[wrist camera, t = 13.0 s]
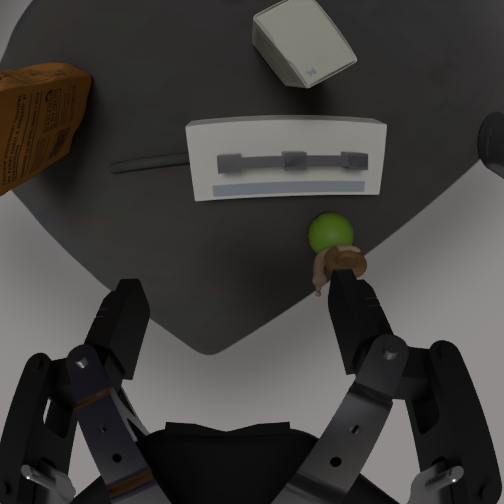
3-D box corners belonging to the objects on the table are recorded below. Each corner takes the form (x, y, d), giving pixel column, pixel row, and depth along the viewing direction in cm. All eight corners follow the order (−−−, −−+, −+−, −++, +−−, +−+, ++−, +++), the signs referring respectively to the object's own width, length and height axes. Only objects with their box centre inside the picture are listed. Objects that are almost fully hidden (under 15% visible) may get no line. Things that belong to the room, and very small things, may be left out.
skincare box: (318, 67, 25) (363, 65, 15) (284, 87, 26) (309, 94, 16) (283, 19, 22) (308, -13, 12) (248, 39, 23) (251, 16, 13)
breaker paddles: (359, 152, 27) (368, 153, 25) (359, 167, 27) (368, 170, 25) (219, 154, 27) (216, 156, 25) (220, 170, 27) (218, 173, 25)
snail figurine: (295, 208, 34) (316, 270, 24) (346, 202, 34) (384, 260, 24) (297, 245, 37) (315, 313, 28) (345, 239, 37) (376, 303, 27)
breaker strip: (373, 118, 28) (387, 124, 25) (367, 182, 32) (379, 195, 29) (104, 136, 28) (89, 144, 25) (117, 197, 33) (106, 210, 30)
